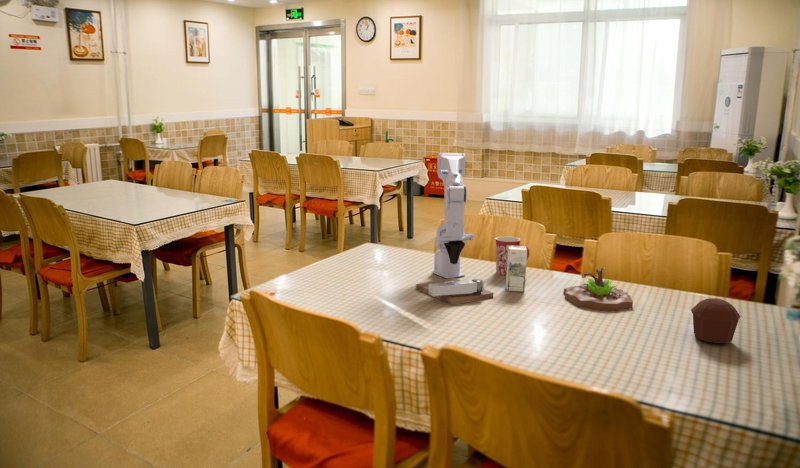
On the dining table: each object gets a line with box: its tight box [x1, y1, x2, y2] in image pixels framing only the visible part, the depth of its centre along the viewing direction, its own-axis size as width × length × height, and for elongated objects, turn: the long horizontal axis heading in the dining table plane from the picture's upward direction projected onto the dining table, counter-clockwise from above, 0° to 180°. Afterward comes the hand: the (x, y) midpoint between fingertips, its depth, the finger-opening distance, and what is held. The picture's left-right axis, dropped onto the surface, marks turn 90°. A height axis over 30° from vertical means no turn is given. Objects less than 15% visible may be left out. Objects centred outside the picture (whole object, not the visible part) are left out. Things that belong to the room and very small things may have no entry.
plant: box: [563, 267, 634, 312], centre depth 181 cm, size 20×20×11 cm
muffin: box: [690, 297, 742, 344], centre depth 151 cm, size 12×11×10 cm
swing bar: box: [427, 278, 485, 297], centre depth 179 cm, size 18×4×3 cm, turn 111°
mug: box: [495, 236, 530, 277], centre depth 208 cm, size 13×9×14 cm
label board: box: [415, 277, 494, 306], centre depth 187 cm, size 20×16×2 cm
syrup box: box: [505, 245, 528, 293], centre depth 191 cm, size 6×6×14 cm
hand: (453, 263), depth 191 cm, fingers closed
